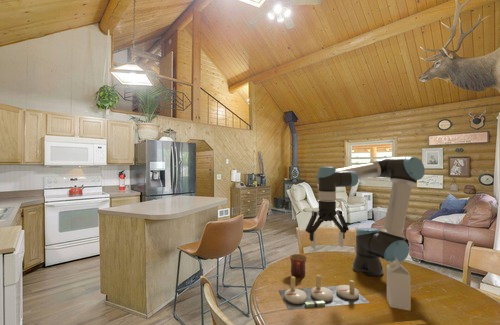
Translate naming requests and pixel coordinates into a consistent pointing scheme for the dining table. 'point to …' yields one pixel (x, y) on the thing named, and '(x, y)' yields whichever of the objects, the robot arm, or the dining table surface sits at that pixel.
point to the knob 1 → (295, 294)
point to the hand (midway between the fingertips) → (327, 247)
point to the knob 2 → (348, 290)
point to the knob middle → (321, 291)
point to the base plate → (315, 303)
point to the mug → (298, 265)
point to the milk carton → (398, 286)
